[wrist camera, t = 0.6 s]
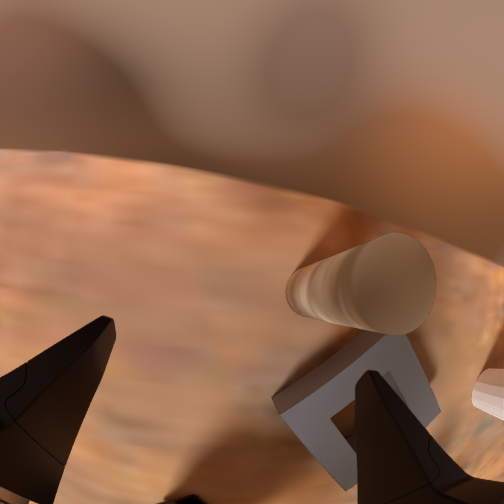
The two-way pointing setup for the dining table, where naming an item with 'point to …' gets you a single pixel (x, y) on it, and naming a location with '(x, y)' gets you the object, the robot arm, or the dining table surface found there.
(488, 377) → the shot glass
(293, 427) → the socket
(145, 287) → the dining table surface
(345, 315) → the peg
